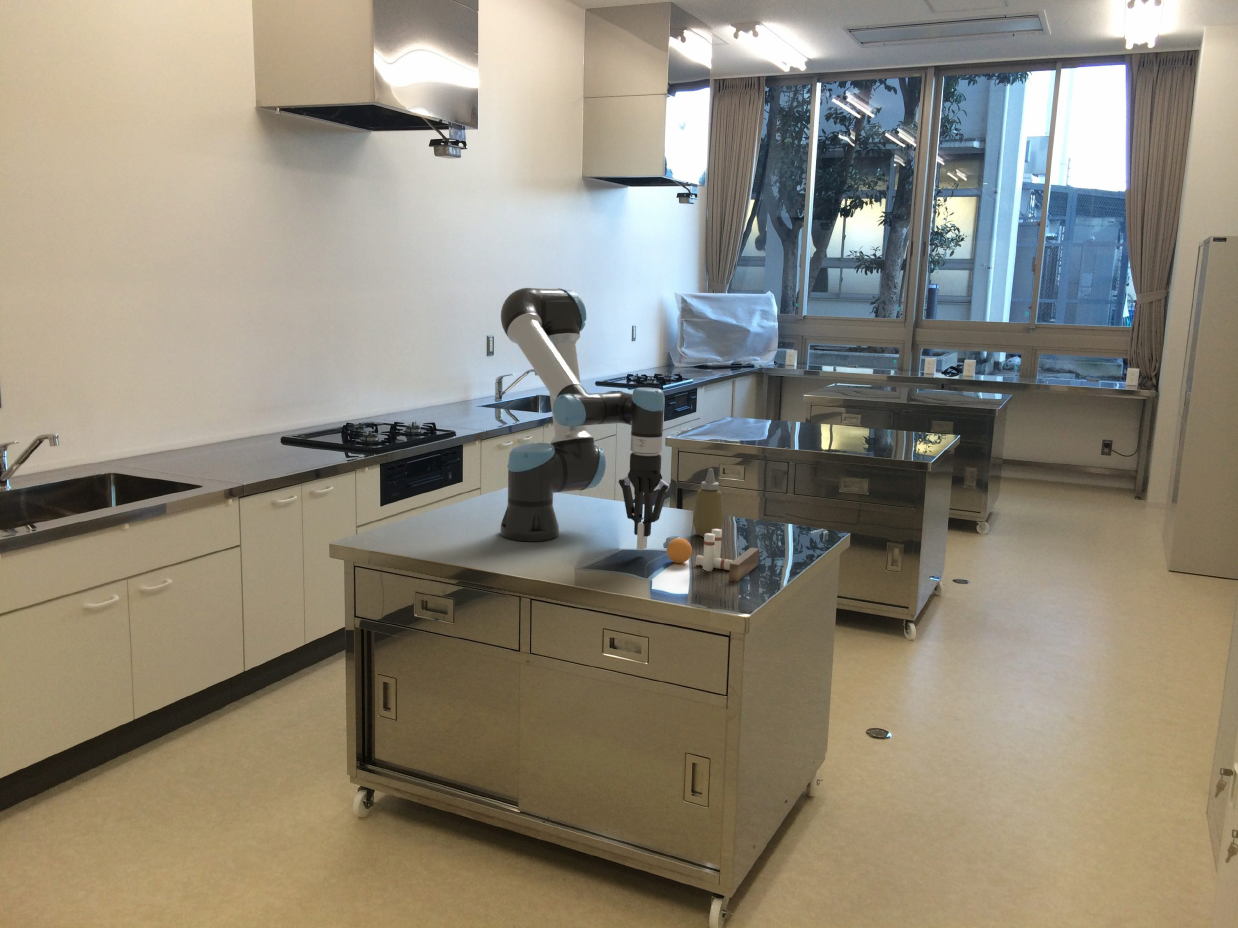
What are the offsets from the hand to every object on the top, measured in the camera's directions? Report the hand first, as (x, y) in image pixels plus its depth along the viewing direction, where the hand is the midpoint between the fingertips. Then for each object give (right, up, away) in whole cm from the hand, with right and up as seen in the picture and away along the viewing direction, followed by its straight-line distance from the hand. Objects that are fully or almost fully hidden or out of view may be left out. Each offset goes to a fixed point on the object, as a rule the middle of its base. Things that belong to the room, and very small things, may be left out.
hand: (641, 548), depth 238 cm
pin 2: (+17, -4, -5) cm, 18 cm away
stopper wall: (+24, -5, -10) cm, 26 cm away
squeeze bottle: (+18, +1, +23) cm, 29 cm away
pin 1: (+15, -4, -9) cm, 18 cm away
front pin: (+13, -2, -6) cm, 14 cm away
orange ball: (+9, 0, -5) cm, 10 cm away
